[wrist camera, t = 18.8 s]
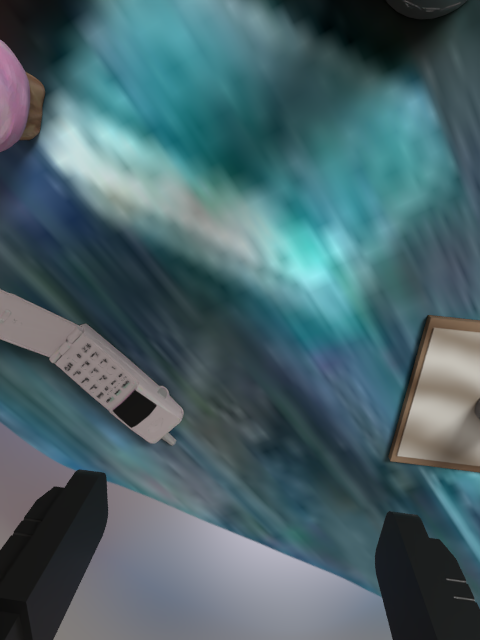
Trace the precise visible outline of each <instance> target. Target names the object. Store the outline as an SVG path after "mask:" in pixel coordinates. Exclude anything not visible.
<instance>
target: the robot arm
mask: <svg viewBox="0 0 480 640" xmlns="http://www.w3.org/2000/svg"><path fill="white" fill-rule="evenodd" d="M466 1H467V0H386V2H387V3H388V4H389V5H390V6H391V7H392V8H393V9H395V10H396V11H397V12H399V13H401V14H403V15H405V16H407V17H410V18H415V19H433V18H437V17H440V16H444V15H446V14H448V13H450V12H452V11H454V10H456V9H457V8H459V7H460V6H461V5H463V4H464V3H465V2H466ZM107 518H108V501H107V481H106V474H105V473H102V472H94V471H87V470H77V471H76V472H75V473H74V475H73V476H72V478H71V479H70V480H69V482H68V483H67V485H66V486H65V488H61V487H53V488H52V489H51V490H50V491H48V492H47V493H45V494H44V495H43V496H42V497H40V498H39V499H38V500H37V501H36V502H35V503H34V505H33V506H32V507H31V509H30V510H29V512H28V513H27V514H26V516H25V517H24V520H23V521H21V523H20V524H19V525H18V527H17V528H16V529H15V531H14V534H13V535H12V536H10V538H9V539H8V541H7V542H6V543H5V545H4V546H3V547H2V549H1V550H0V640H53V639H54V637H55V635H56V633H57V630H58V628H59V626H60V624H61V622H62V620H63V618H64V616H65V614H66V611H67V609H68V607H69V605H70V603H71V601H72V599H73V597H74V595H75V593H76V590H77V588H78V586H79V584H80V582H81V580H82V578H83V576H84V573H85V572H86V569H87V567H88V565H89V563H90V561H91V559H92V556H93V555H94V553H95V550H96V548H97V546H98V544H99V542H100V540H101V538H102V536H103V533H104V530H105V527H106V523H107ZM375 568H376V575H377V579H378V583H379V587H380V591H381V595H382V599H383V602H384V607H385V610H386V615H387V618H388V622H389V626H390V630H391V634H392V638H393V640H480V609H479V607H478V605H477V603H475V601H474V596H473V594H472V592H471V590H470V588H469V586H468V584H466V579H465V577H464V575H463V573H462V571H461V568H460V566H459V564H458V562H457V560H456V558H455V557H454V556H453V555H452V554H451V552H450V551H449V550H448V549H447V548H446V547H445V545H444V544H443V543H442V542H441V541H440V540H439V539H433V538H429V537H428V534H427V532H426V530H425V527H424V525H423V523H422V520H421V519H420V517H419V516H418V515H413V514H405V513H398V512H390V511H389V512H388V513H387V515H386V518H385V521H384V524H383V528H382V531H381V535H380V538H379V541H378V545H377V548H376V553H375Z"/></svg>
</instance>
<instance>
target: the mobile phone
mask: <svg viewBox="0 0 480 640" xmlns="http://www.w3.org/2000/svg"><path fill="white" fill-rule="evenodd" d="M0 339H1V340H4V341H6V342H9V343H12V344H15V345H17V346H20V347H23V348H26V349H28V350H31V351H34V352H37V353H39V354H42V355H45V356H48V355H49V356H48V357H50V359H49V360H50V361H51V362H52V363H55V364H56V365H57V366H58V367H59V368H60V369H62V370H63V371H64V372H65V373H66V374H67V375H68V376H69V377H71V378H72V379H73V380H74V381H75V382H76V383H77V384H78V385H79V386H81V387H82V388H83V389H84V390H85V391H86V392H87V393H89V394H90V395H91V396H92V397H93V398H94V399H96V400H97V401H98V402H99V403H100V404H101V405H103V406H104V407H105V408H106V409H107V410H109V412H110V413H111V414H112V415H113V416H115V417H116V418H117V419H118V420H120V421H121V422H122V423H123V424H125V425H126V426H127V427H128V428H130V429H131V430H132V431H134V432H135V433H137V434H138V435H139V436H141V437H142V438H144V439H145V440H146V441H148V442H149V443H156V442H158V441H159V440H160V439H161V438H162V439H163V440H165V441H166V442H167V443H169V444H170V445H171V446H172V445H174V444H175V442H176V440H175V439H174V438H173V437H172V436H171V435H170V434H169V433H168V432H169V431H171V430H172V429H173V428H174V427H175V426H176V425H178V424H179V423H180V422H181V420H182V417H183V414H184V412H183V409H182V408H181V407H180V406H179V405H178V404H177V403H176V402H175V401H174V400H173V399H172V398H171V397H170V396H169V391H168V390H167V388H165V387H164V386H159V385H158V384H156V383H155V382H154V381H153V380H152V379H151V378H150V377H148V376H147V375H146V374H145V373H144V372H143V371H142V370H140V369H139V368H138V367H137V366H136V365H135V364H134V363H133V362H131V361H130V360H129V359H128V358H127V357H126V356H124V355H123V354H122V353H121V352H120V351H118V350H117V349H116V348H115V347H114V346H113V345H111V344H110V343H109V342H108V341H107V340H105V339H104V338H103V337H102V336H101V335H99V334H98V333H97V332H96V331H95V330H93V329H92V328H91V327H90V326H89V325H87V324H82V325H80V326H79V325H77V324H75V323H73V322H71V321H69V320H67V319H64V318H62V317H60V316H58V315H56V314H54V313H52V312H50V311H48V310H46V309H44V308H41V307H39V306H37V305H35V304H33V303H31V302H29V301H26V300H24V299H23V298H20V297H18V296H16V295H14V294H11V293H8V292H6V291H3V290H1V289H0Z"/></svg>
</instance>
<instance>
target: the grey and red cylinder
mask: <svg viewBox="0 0 480 640" xmlns="http://www.w3.org/2000/svg"><path fill="white" fill-rule="evenodd" d="M475 414H476V416H477V418H478V419H479V420H480V399H479V400H478V401H477V403H476V405H475Z"/></svg>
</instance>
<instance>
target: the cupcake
mask: <svg viewBox="0 0 480 640" xmlns="http://www.w3.org/2000/svg"><path fill="white" fill-rule="evenodd" d="M44 96H45V89H44V86H43V84H42V83H41V82H40V81H39V80H38V79H36V78H35V77H33V76H32V75H30V74H28V73H27V72H25V71H24V69H23V67H22V65H21V64H20V62H19V61H18V59H17V58H16V56H15V55H14V53H13V52H12V51H11V49H10V48H9V47H8V46H7V45H6V44H5V43H4V42H3V41H1V40H0V152H2V151H4V150H6V149H8V148H10V147H11V146H13V145H14V144H15V143H16V142H17V141H18V140H31V139H33V138H34V137H35V136H36V135H38V133H39V132H40V126H41V119H42V106H43V101H44Z"/></svg>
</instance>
